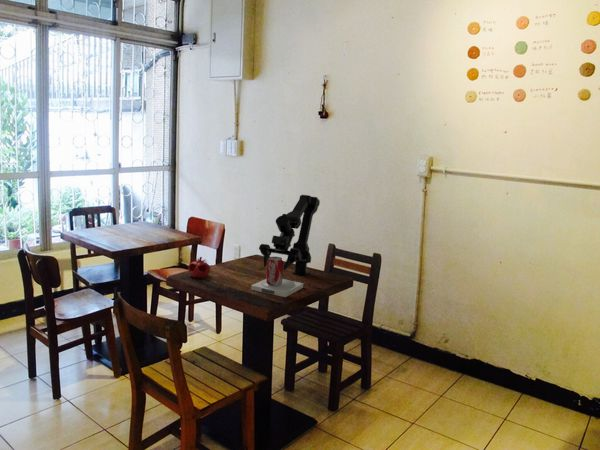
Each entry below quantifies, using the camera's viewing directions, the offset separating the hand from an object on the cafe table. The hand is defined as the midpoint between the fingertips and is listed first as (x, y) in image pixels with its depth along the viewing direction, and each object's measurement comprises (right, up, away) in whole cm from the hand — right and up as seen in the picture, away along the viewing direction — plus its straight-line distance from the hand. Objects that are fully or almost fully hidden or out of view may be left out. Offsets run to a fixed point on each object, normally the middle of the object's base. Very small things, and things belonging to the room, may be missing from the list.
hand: (274, 268), depth 227 cm
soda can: (0, -8, +3) cm, 8 cm away
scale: (+1, -10, +6) cm, 11 cm away
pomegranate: (-36, -5, +18) cm, 41 cm away
